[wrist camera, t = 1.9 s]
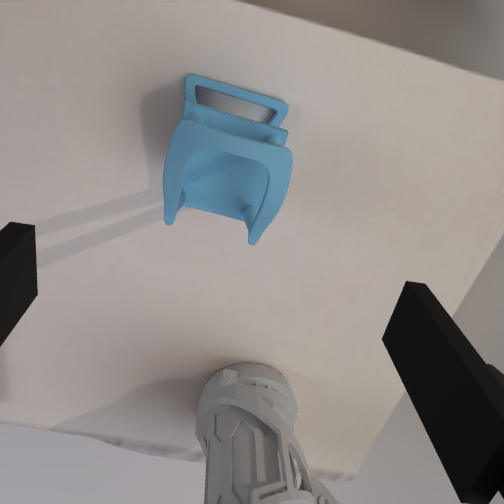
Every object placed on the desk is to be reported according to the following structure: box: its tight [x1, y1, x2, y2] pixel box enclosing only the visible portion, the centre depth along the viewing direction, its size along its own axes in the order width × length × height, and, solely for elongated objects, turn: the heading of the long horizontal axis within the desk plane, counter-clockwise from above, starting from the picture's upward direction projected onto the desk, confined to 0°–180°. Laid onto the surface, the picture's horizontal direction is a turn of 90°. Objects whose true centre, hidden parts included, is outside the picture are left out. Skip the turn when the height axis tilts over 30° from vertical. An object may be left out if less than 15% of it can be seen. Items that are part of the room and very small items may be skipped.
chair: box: [163, 74, 293, 245], centre depth 28 cm, size 8×8×12 cm
